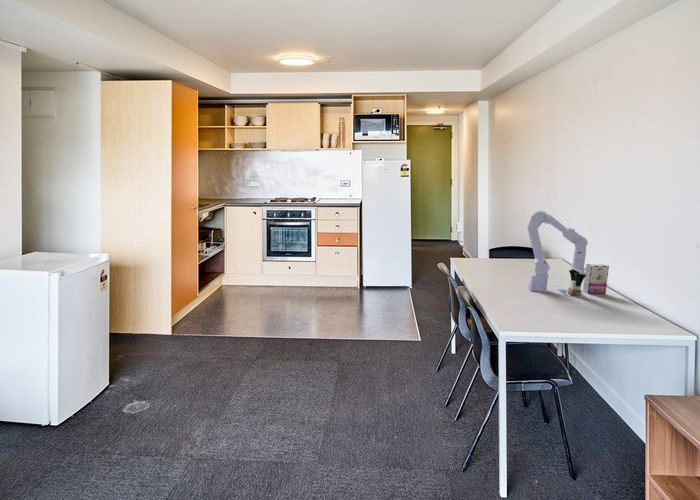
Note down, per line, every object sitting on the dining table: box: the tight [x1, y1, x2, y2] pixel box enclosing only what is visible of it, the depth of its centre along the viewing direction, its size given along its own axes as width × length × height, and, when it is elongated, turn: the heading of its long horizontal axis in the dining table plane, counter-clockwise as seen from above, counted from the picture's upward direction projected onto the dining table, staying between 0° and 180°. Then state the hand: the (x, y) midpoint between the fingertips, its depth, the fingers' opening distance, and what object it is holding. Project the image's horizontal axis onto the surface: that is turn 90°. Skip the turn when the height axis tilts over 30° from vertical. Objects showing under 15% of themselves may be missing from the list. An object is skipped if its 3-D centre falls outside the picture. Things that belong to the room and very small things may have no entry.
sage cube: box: [569, 280, 582, 290], centre depth 272 cm, size 4×4×4 cm
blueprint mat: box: [557, 288, 588, 299], centre depth 277 cm, size 11×16×1 cm
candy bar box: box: [582, 263, 610, 295], centre depth 280 cm, size 11×5×16 cm, turn 101°
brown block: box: [568, 287, 583, 298], centre depth 273 cm, size 5×5×4 cm
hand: (575, 284), depth 272 cm, fingers open, 7 cm apart
